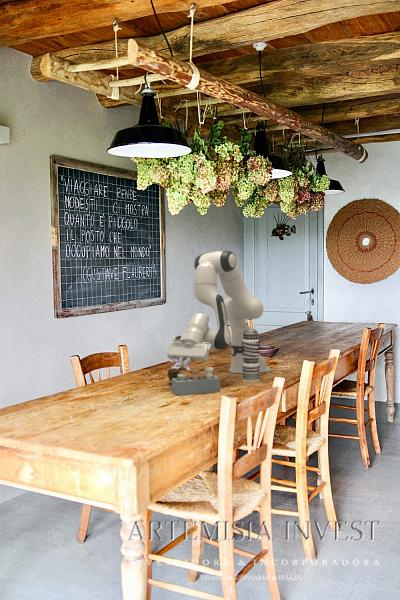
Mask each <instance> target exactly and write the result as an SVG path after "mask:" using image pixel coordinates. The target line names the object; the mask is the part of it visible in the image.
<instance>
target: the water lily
mask: <svg viewBox="0 0 400 600" xmlns="http://www.w3.org/2000/svg"><path fill="white" fill-rule="evenodd" d="M168 361H169V362H170V363H175V364H173V365H172V366H171V367H170V369H172V368H176V369H178V370H179V368H184V369H186V371H187V370H188V371H191V369H190V366H189V364H188V365H187V367H180V359H169V358H168ZM186 361H187V360H184V361H183V362H186Z"/></svg>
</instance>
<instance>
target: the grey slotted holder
mask: <svg viewBox="0 0 400 600" xmlns="http://www.w3.org/2000/svg"><path fill="white" fill-rule="evenodd" d="M220 379H221V378H220V377H218V376H216V375H214V374H212V378H208V379H206V375H199V379H197V380H192V376H187V377H186V378H185V381H179V378H172V381H171V392H172V393H173V394H175V395H177V396H187V395H196V394H197V395H198V394H208V393H218V392H220V391H221V380H220Z"/></svg>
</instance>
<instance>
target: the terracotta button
mask: <svg viewBox="0 0 400 600" xmlns="http://www.w3.org/2000/svg"><path fill="white" fill-rule="evenodd" d="M190 372H191V373H192V375H191V377H192V380H197V379H199V376H200V372H201V369H200V368H197V367H195V368H191V369H190Z"/></svg>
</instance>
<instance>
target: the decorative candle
mask: <svg viewBox="0 0 400 600" xmlns="http://www.w3.org/2000/svg"><path fill="white" fill-rule="evenodd" d="M242 343H243V344H242V347H243V348H242V350H243V352H242V354H243V355H242V357H243V361H244V362H243V368H244V369H243V371H244V372H243V373H242V382H247V383H256V382H259V381H260V380H261V379H260V378H261V376H260V375H261V373H259V371H260V369H258V368H260V366H259V357H260V356H259V355H258V354H260V353H261V351H260V350H261V348H260V346H261V344H260V343H261V341H260V340H259V332H258V330H256V329H253V328H251V329H247V330H245V331H244V332H243V341H242ZM258 347H259V348H258Z"/></svg>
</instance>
